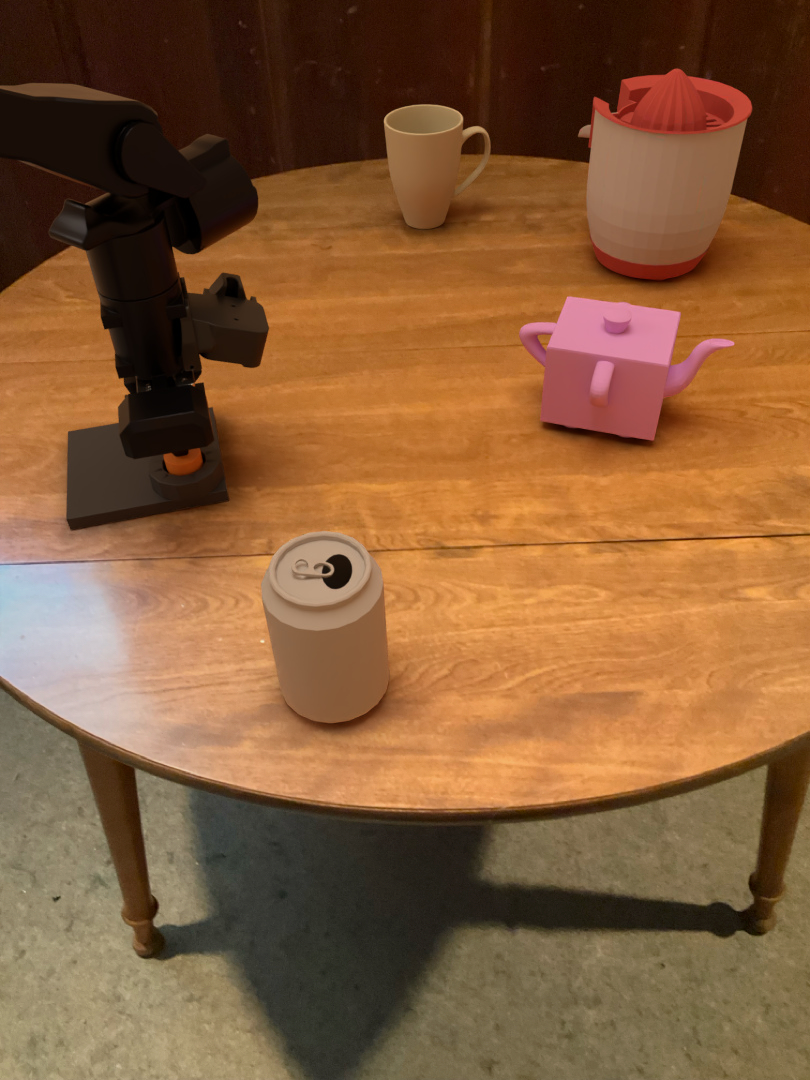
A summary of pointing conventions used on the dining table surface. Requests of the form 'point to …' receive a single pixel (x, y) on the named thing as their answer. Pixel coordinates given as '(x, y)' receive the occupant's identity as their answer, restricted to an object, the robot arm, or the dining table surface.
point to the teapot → (611, 365)
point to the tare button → (184, 463)
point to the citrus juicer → (662, 171)
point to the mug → (428, 160)
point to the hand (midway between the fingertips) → (181, 453)
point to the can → (327, 626)
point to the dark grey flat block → (133, 479)
